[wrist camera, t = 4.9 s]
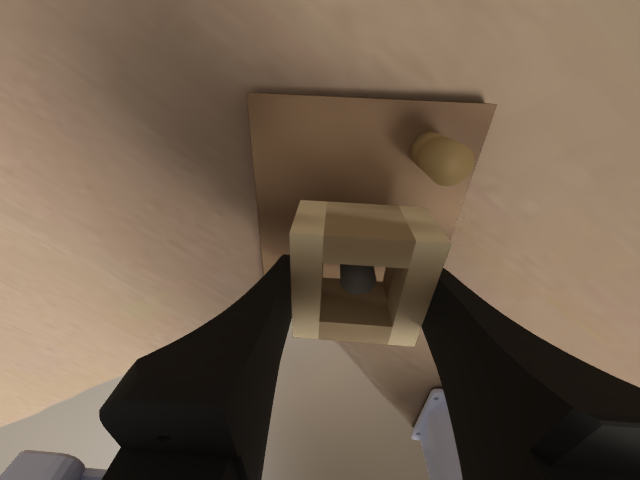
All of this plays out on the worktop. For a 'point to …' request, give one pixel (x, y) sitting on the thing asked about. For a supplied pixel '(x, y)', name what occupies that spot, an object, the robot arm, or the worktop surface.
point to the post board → (360, 162)
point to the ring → (367, 250)
